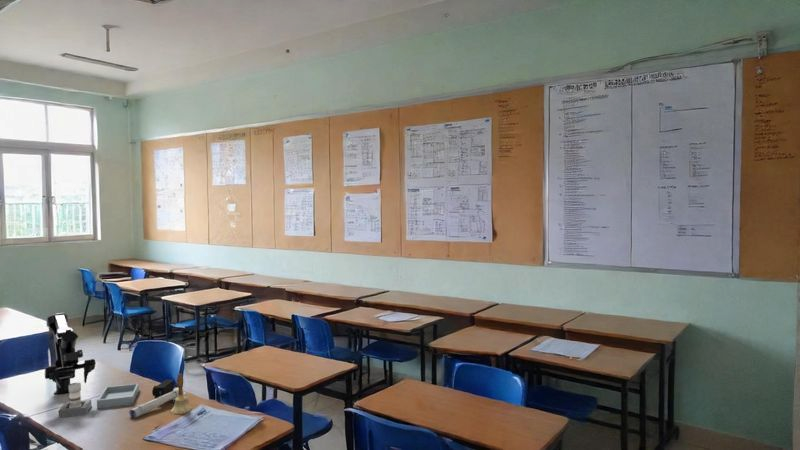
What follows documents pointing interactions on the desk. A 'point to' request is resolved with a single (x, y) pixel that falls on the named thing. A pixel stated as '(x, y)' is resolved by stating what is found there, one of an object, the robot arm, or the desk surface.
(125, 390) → the tray
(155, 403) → the white long bar
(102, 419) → the desk surface
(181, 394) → the hand bell
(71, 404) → the light bulb
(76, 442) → the desk surface
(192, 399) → the desk surface
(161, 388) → the digital camera
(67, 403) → the socket block
